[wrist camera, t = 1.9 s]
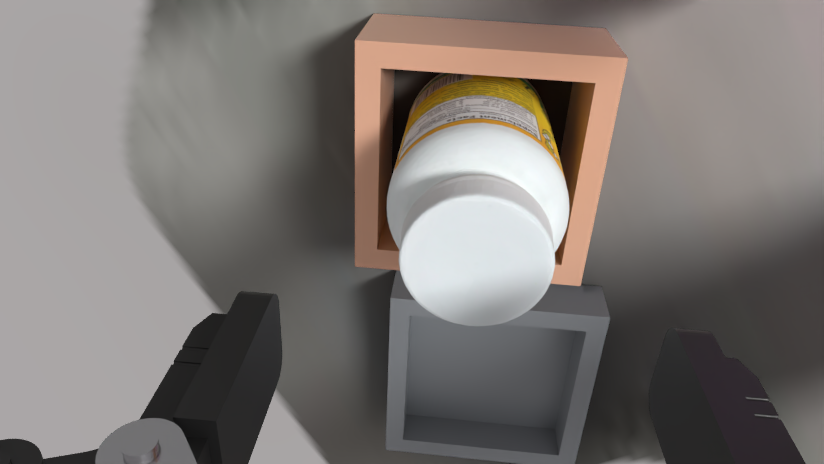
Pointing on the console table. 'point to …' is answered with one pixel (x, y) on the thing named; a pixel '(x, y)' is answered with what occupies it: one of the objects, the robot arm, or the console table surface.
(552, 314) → the tray
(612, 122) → the holder cup
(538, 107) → the supplement bottle
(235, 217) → the console table surface
